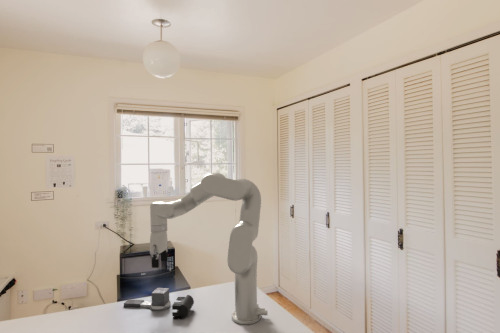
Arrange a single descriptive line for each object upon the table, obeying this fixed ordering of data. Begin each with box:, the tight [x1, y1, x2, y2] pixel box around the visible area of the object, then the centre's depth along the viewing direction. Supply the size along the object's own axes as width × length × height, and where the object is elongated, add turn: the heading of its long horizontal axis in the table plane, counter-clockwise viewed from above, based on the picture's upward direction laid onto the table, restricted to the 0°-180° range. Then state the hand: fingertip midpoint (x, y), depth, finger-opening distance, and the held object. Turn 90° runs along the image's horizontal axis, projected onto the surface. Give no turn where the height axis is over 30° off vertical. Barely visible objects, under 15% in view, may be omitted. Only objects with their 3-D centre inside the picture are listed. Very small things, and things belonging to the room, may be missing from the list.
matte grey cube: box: [151, 287, 170, 306], centre depth 141 cm, size 6×6×6 cm
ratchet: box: [123, 299, 172, 312], centre depth 142 cm, size 22×9×5 cm, turn 82°
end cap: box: [171, 294, 195, 320], centre depth 133 cm, size 10×7×7 cm
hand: (159, 264), depth 141 cm, fingers open, 9 cm apart
